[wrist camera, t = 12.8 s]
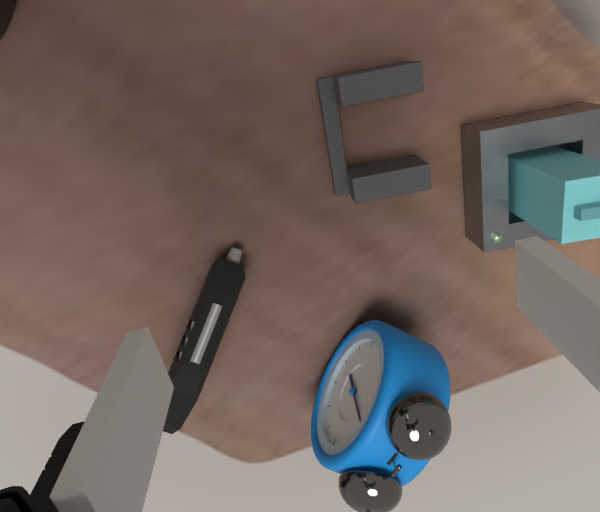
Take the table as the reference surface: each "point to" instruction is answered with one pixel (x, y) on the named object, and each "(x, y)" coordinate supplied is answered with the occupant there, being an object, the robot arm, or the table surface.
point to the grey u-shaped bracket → (384, 174)
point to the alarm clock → (380, 413)
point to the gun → (203, 337)
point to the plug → (556, 192)
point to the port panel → (494, 165)
